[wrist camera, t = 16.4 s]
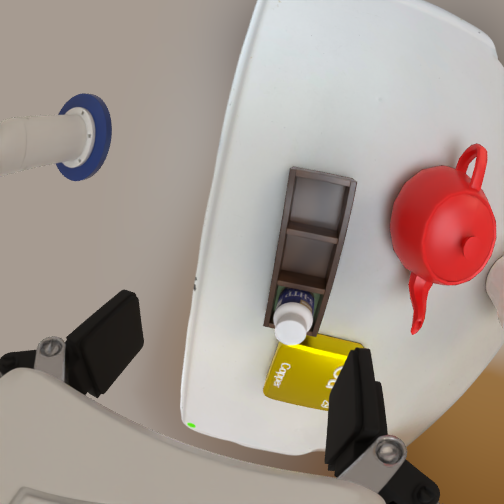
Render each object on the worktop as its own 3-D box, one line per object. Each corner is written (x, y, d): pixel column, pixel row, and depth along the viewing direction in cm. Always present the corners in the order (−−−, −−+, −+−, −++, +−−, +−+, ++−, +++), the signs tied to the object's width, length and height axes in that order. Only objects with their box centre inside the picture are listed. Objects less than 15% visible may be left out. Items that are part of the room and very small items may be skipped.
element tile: (284, 323, 44) (280, 342, 39) (368, 344, 42) (371, 363, 37) (264, 380, 50) (259, 398, 45) (336, 397, 48) (335, 415, 43)
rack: (267, 311, 43) (263, 326, 40) (292, 166, 35) (289, 168, 31) (317, 322, 42) (316, 337, 38) (352, 178, 33) (357, 182, 30)
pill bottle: (319, 287, 39) (318, 322, 31) (308, 316, 41) (304, 353, 33) (284, 277, 40) (274, 311, 32) (275, 307, 42) (265, 343, 34)
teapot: (411, 119, 28) (450, 109, 17) (492, 166, 26) (542, 179, 15) (353, 284, 38) (363, 334, 27) (433, 310, 37) (459, 358, 26)
